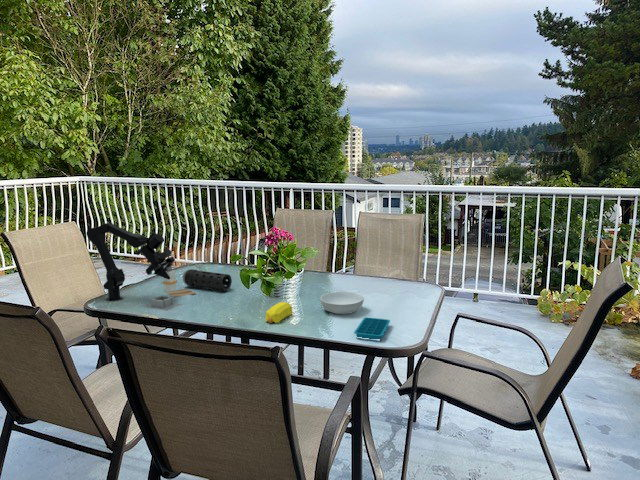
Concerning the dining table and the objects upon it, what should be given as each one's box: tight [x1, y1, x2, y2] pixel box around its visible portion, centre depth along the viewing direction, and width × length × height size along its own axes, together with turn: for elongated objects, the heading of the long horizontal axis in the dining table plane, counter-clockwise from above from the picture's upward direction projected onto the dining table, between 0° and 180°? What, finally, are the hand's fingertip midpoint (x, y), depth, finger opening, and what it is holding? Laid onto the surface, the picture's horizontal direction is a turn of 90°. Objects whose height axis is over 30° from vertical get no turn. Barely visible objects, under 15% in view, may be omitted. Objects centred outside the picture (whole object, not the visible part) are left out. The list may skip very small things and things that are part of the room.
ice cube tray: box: [353, 317, 391, 340], centre depth 197 cm, size 12×20×3 cm, turn 162°
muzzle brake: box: [182, 268, 232, 293], centre depth 262 cm, size 10×28×10 cm, turn 64°
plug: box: [162, 266, 178, 292], centre depth 235 cm, size 5×5×12 cm
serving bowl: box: [319, 290, 365, 315], centre depth 224 cm, size 21×21×7 cm
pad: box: [165, 288, 197, 298], centre depth 252 cm, size 12×12×1 cm
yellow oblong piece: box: [264, 301, 294, 324], centre depth 214 cm, size 18×7×8 cm
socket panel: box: [142, 295, 183, 312], centre depth 230 cm, size 16×11×4 cm
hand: (171, 277), depth 234 cm, fingers closed on plug, 4 cm apart
